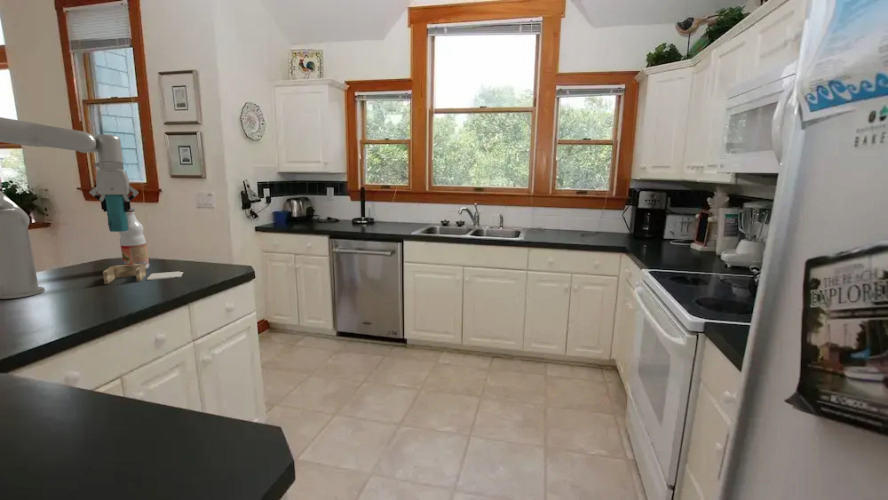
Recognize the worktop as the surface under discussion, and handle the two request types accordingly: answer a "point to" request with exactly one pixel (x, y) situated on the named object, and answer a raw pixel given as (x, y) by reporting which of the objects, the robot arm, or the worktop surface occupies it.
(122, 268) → the bottle bracket
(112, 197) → the beverage bottle
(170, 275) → the trivet
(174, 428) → the worktop surface
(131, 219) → the fruit juice
